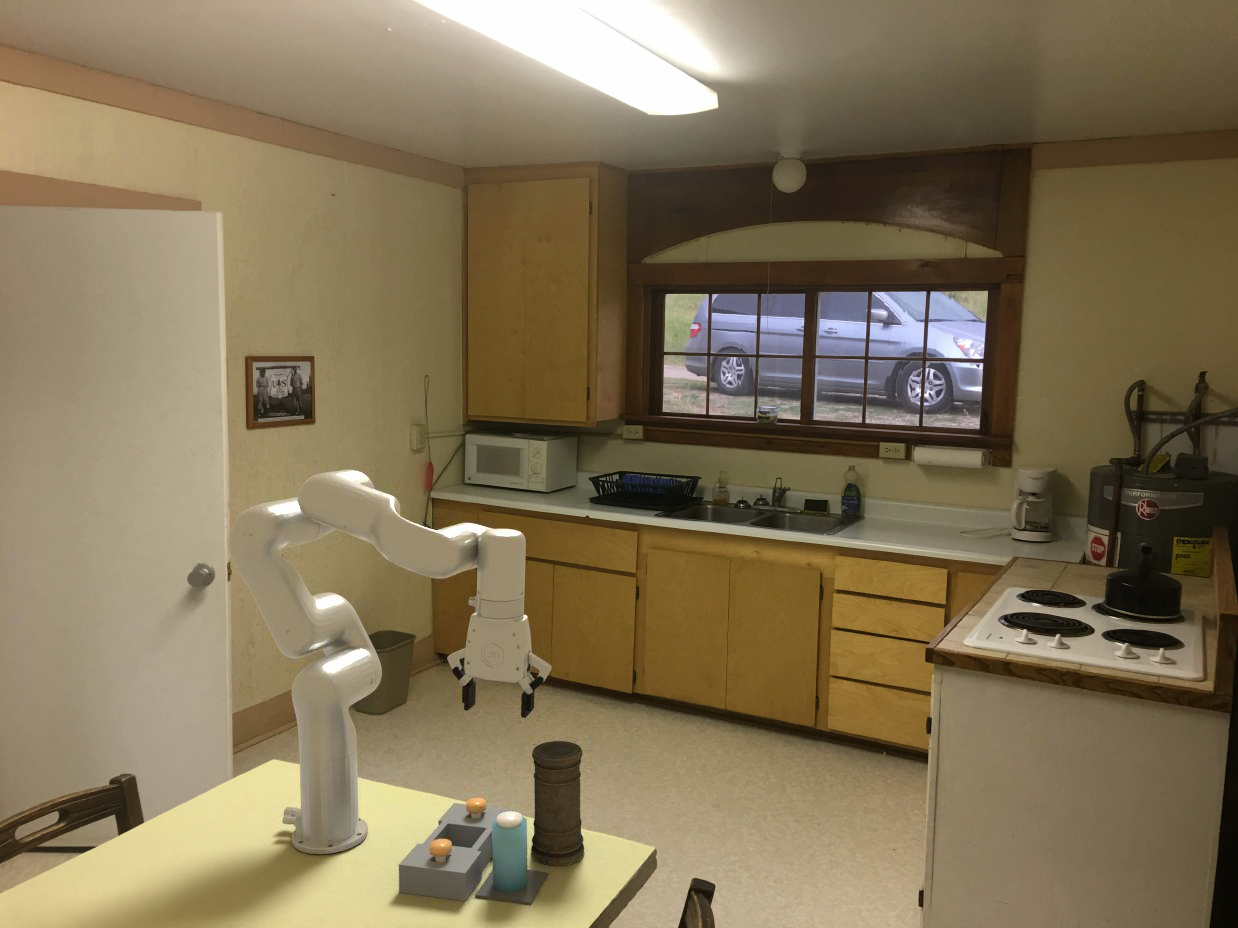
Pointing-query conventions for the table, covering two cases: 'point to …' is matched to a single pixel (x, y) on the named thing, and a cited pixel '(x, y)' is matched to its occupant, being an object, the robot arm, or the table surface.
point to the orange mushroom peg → (476, 807)
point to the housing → (451, 856)
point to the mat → (520, 896)
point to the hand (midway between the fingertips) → (497, 711)
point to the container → (557, 803)
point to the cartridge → (509, 852)
